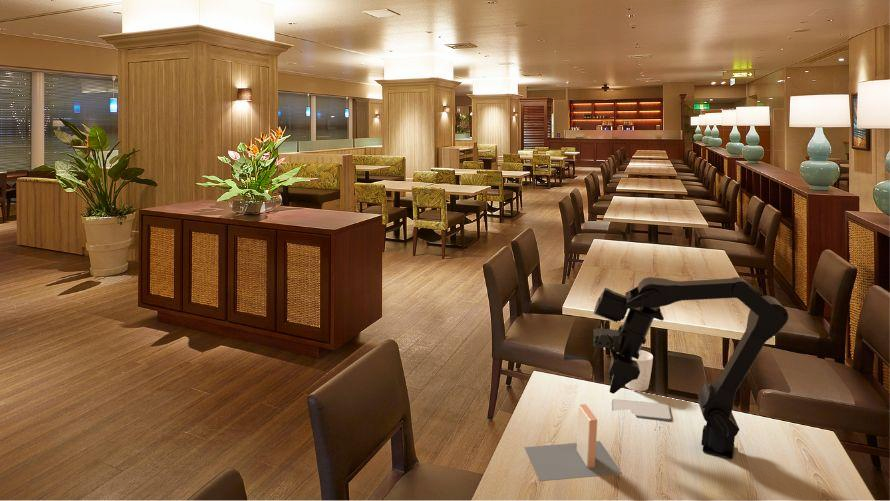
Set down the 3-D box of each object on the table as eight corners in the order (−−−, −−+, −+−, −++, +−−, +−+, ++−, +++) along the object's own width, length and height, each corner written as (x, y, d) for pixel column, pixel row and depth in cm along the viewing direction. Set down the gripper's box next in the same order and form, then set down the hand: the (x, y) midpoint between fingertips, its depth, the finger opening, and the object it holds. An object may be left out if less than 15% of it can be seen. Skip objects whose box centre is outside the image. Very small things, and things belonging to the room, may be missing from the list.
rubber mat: (599, 442, 138) (599, 441, 138) (622, 475, 125) (622, 473, 125) (524, 449, 135) (524, 447, 135) (539, 482, 123) (539, 480, 123)
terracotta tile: (583, 449, 134) (585, 404, 131) (594, 467, 127) (597, 419, 124) (576, 450, 134) (578, 404, 131) (587, 468, 127) (589, 420, 124)
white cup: (648, 381, 169) (651, 350, 167) (652, 393, 162) (654, 361, 159) (621, 378, 171) (623, 348, 169) (623, 390, 164) (625, 359, 161)
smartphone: (611, 398, 158) (668, 404, 154) (611, 401, 159) (668, 407, 155) (612, 413, 151) (672, 419, 147) (612, 416, 151) (671, 422, 147)
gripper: (601, 304, 143) (580, 356, 148) (602, 330, 126) (578, 388, 130) (644, 319, 141) (621, 372, 146) (651, 348, 124) (625, 407, 128)
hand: (611, 384), depth 138 cm, fingers open, 9 cm apart
